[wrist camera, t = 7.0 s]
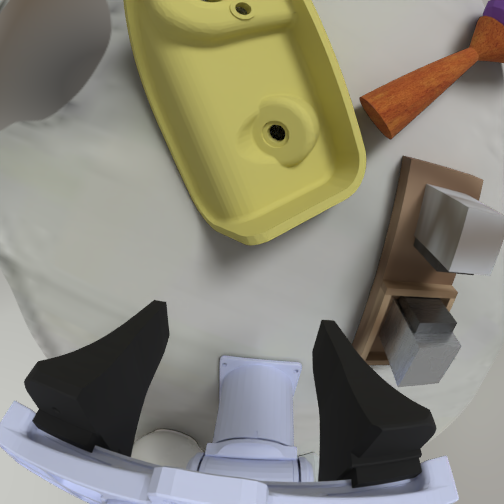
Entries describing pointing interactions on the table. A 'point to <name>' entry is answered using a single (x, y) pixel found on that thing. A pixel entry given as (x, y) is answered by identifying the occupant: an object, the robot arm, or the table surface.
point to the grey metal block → (419, 340)
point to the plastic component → (249, 109)
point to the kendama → (435, 76)
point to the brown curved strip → (166, 448)
